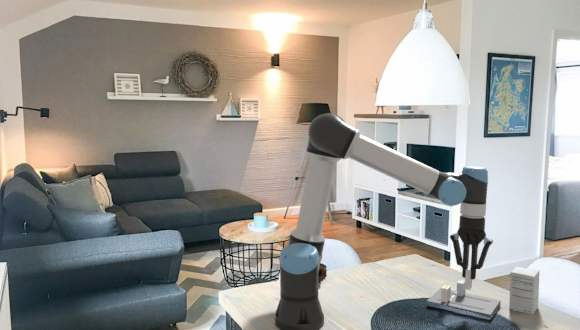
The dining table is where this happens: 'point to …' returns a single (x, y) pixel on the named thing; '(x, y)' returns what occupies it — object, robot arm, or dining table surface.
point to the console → (469, 303)
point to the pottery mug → (322, 272)
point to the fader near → (445, 293)
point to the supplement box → (524, 290)
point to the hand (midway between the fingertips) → (468, 288)
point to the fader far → (461, 288)
